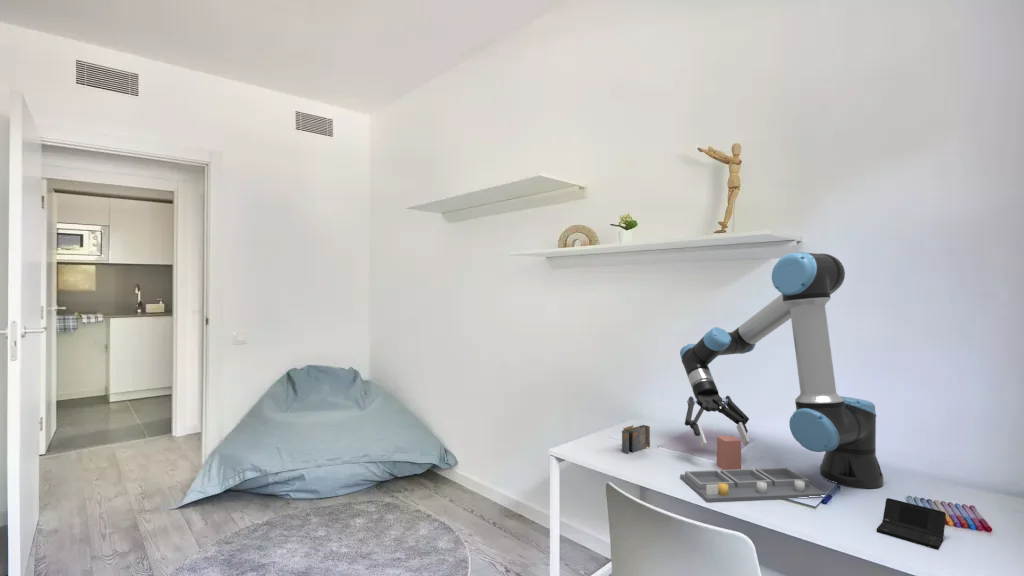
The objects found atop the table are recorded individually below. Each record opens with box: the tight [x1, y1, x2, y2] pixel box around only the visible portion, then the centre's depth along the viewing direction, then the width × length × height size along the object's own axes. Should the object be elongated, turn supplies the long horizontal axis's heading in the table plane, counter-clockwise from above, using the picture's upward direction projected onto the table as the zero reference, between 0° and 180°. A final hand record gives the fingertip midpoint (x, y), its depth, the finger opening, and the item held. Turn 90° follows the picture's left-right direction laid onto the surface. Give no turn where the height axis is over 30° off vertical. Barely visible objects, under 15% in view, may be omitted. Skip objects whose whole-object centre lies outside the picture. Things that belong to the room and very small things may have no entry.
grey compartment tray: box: [679, 467, 827, 503], centre depth 142 cm, size 32×17×3 cm, turn 95°
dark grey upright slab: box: [621, 424, 651, 455], centre depth 175 cm, size 11×3×10 cm, turn 128°
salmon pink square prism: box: [716, 435, 742, 470], centre depth 157 cm, size 5×5×9 cm
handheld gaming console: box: [876, 497, 947, 551], centre depth 115 cm, size 12×7×10 cm
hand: (725, 444), depth 158 cm, fingers open, 13 cm apart
